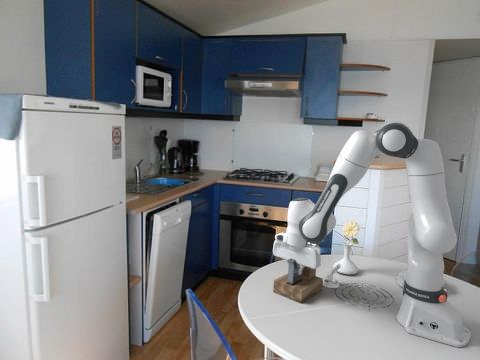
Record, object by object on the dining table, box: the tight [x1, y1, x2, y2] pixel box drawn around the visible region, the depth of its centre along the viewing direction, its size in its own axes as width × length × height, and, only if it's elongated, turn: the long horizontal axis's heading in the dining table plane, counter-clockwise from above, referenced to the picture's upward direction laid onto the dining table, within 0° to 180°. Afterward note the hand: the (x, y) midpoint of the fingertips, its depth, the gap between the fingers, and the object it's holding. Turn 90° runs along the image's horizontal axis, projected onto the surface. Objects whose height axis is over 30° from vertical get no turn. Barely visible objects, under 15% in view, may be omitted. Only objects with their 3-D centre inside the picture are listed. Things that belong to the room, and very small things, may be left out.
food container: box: [395, 270, 448, 289], centre depth 159 cm, size 20×20×7 cm
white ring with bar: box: [322, 264, 341, 289], centre depth 155 cm, size 8×12×7 cm
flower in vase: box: [332, 220, 360, 275], centre depth 168 cm, size 13×11×25 cm
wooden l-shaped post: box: [272, 242, 324, 304], centre depth 147 cm, size 13×16×23 cm
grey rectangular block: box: [286, 259, 301, 286], centre depth 145 cm, size 2×8×10 cm, turn 138°
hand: (294, 272), depth 145 cm, fingers closed on grey rectangular block, 2 cm apart
